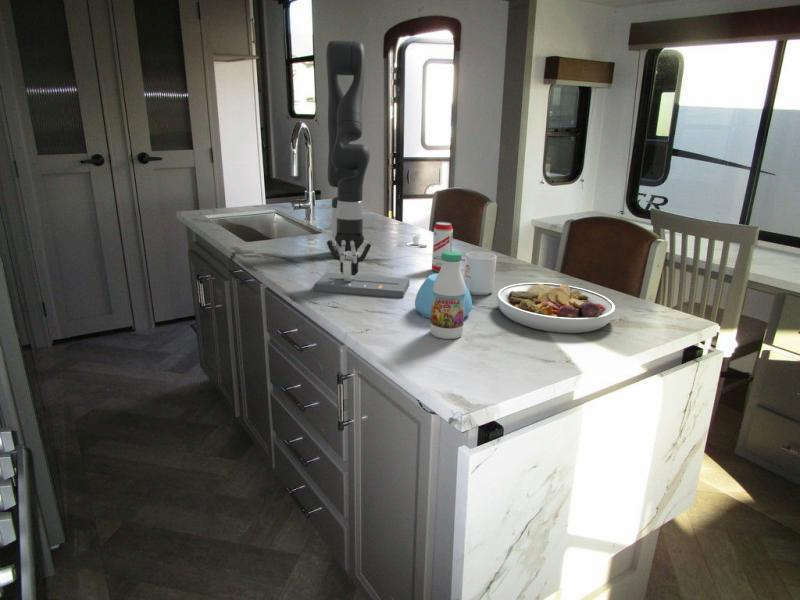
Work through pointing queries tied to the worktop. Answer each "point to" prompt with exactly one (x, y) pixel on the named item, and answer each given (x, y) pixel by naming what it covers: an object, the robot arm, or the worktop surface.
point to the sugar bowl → (425, 298)
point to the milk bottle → (448, 298)
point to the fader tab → (348, 268)
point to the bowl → (555, 307)
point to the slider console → (363, 285)
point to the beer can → (441, 243)
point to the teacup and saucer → (417, 241)
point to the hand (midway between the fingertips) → (349, 274)
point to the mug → (480, 272)
